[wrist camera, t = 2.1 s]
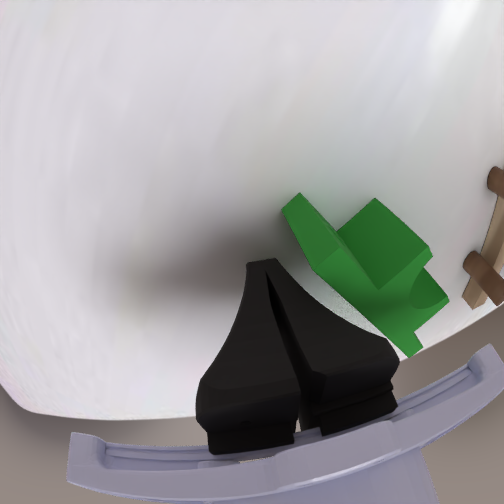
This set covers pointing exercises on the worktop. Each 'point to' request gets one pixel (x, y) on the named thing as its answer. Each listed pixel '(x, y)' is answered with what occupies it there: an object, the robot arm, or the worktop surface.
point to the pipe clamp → (372, 267)
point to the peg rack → (488, 254)
